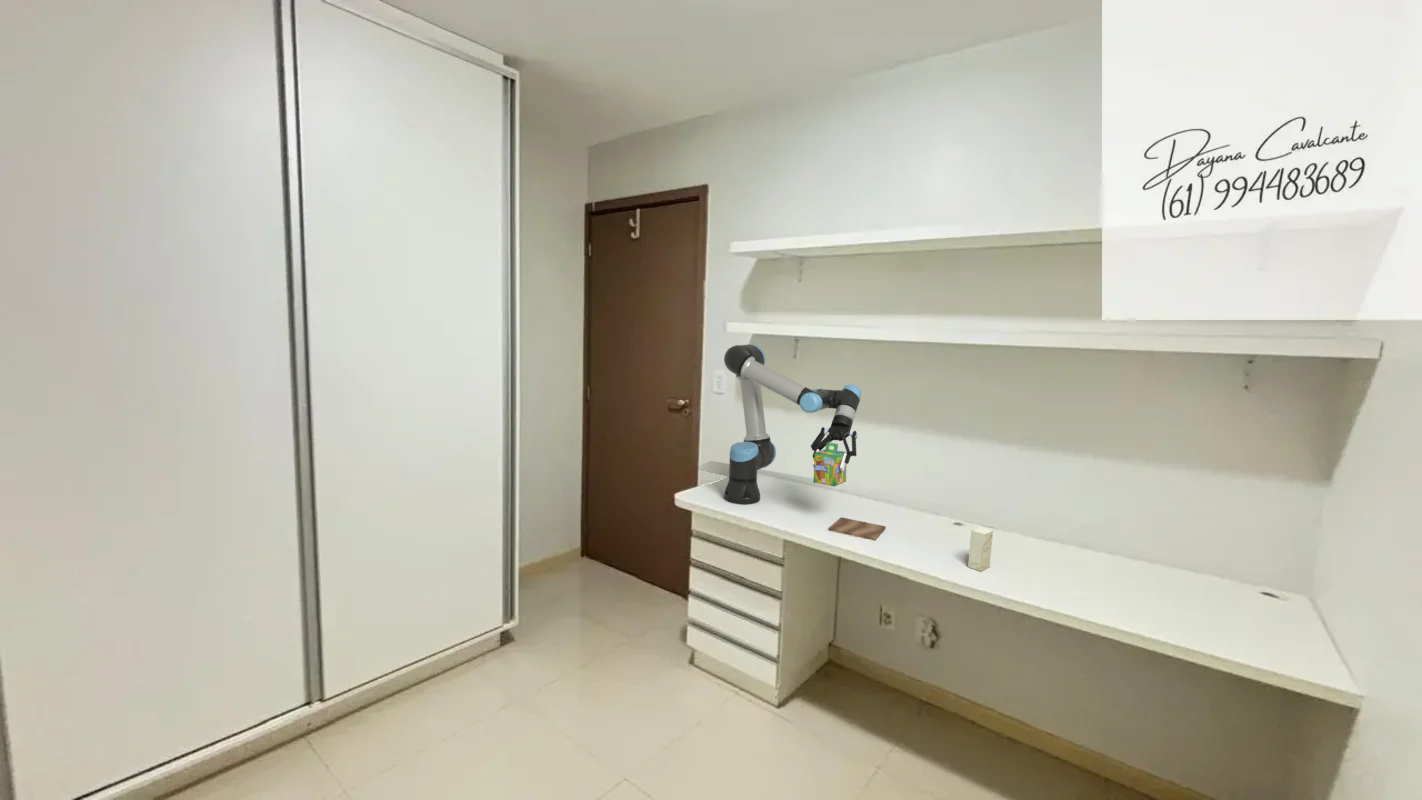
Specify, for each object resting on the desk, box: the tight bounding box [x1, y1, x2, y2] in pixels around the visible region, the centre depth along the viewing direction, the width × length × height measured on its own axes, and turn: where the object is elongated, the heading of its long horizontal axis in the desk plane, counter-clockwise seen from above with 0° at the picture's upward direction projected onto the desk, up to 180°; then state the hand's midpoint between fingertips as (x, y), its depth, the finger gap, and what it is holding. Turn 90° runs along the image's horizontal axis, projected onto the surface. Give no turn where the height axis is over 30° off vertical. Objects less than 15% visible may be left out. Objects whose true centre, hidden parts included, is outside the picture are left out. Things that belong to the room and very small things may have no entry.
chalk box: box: [813, 442, 847, 487], centre depth 218 cm, size 9×9×15 cm
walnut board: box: [828, 516, 887, 541], centre depth 215 cm, size 17×14×1 cm
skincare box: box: [967, 526, 994, 572], centre depth 184 cm, size 6×4×12 cm
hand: (827, 467), depth 215 cm, fingers closed on chalk box, 10 cm apart
